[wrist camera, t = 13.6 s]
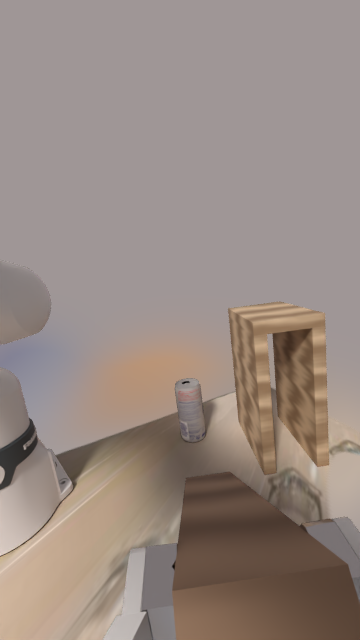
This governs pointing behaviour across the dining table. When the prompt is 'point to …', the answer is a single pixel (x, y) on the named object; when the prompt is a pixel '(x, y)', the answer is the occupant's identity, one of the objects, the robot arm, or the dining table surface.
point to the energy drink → (190, 410)
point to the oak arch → (281, 377)
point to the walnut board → (255, 571)
